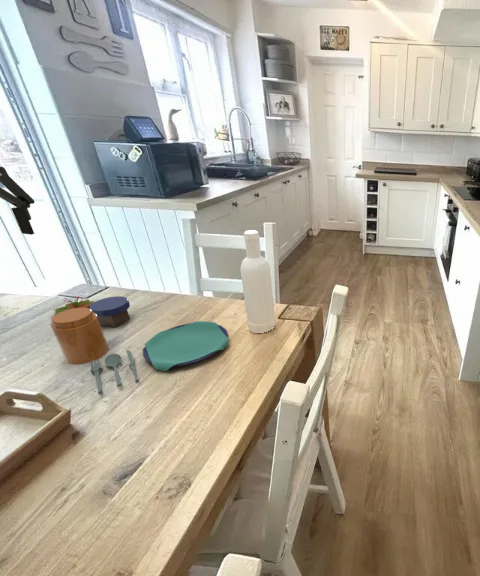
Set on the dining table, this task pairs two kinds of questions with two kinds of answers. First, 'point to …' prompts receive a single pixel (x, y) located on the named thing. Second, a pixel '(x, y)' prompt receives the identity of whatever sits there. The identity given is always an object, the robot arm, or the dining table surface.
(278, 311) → the dining table surface
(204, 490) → the dining table surface
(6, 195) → the robot arm
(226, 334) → the cutlery set
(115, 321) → the dark brown block
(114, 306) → the lid
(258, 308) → the bottle
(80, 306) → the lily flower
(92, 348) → the jar
